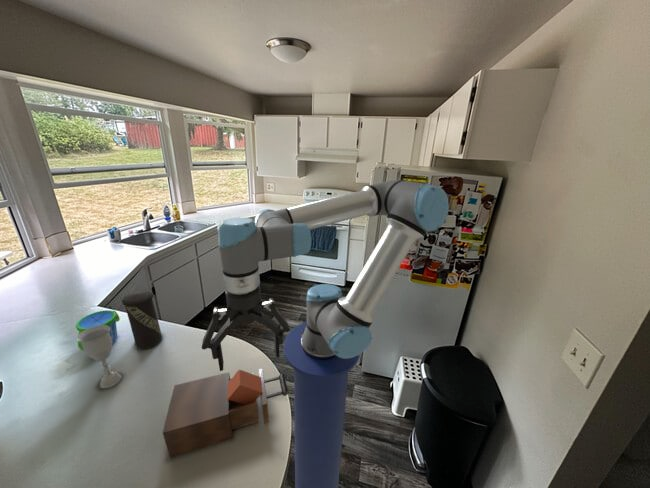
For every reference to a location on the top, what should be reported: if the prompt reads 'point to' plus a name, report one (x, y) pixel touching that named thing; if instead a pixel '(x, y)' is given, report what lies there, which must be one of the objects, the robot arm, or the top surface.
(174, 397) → the cabinet
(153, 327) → the container
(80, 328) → the snack cup
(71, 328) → the top surface
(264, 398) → the drawer
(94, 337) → the chalice
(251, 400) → the block
